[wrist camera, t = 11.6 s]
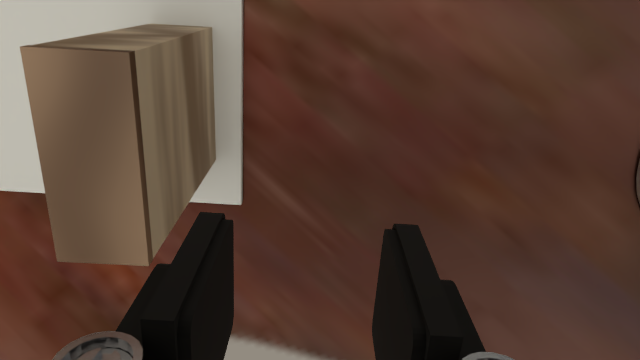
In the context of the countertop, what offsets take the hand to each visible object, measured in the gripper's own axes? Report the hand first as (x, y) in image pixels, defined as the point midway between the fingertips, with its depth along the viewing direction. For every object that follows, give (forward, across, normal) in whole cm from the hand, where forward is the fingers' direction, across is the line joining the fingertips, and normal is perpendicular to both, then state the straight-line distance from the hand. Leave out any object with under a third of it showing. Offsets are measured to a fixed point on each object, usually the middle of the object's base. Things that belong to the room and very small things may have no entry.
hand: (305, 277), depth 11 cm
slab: (+19, +8, 0) cm, 20 cm away
